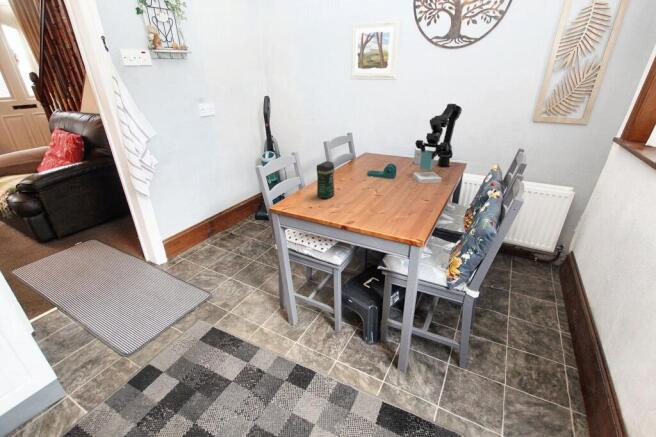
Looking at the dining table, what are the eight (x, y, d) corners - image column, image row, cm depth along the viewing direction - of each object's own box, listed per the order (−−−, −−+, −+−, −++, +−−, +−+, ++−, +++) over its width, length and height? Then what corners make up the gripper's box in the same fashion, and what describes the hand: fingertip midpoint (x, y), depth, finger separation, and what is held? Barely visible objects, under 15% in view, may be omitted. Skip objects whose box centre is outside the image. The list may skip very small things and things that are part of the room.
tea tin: (423, 166, 186) (425, 150, 181) (433, 167, 183) (435, 151, 178) (419, 168, 182) (421, 152, 177) (429, 170, 178) (431, 153, 174)
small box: (424, 162, 218) (426, 148, 214) (426, 164, 213) (428, 149, 209) (413, 162, 219) (414, 148, 215) (414, 164, 214) (416, 149, 210)
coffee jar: (327, 200, 158) (326, 165, 150) (315, 197, 161) (313, 163, 153) (336, 194, 165) (336, 161, 157) (324, 192, 169) (323, 159, 161)
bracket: (396, 175, 192) (396, 163, 189) (393, 179, 187) (394, 166, 183) (368, 173, 199) (369, 161, 196) (365, 176, 193) (366, 164, 190)
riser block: (433, 176, 191) (433, 171, 189) (441, 183, 179) (441, 178, 178) (412, 177, 190) (413, 172, 189) (419, 184, 179) (419, 179, 177)
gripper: (418, 126, 180) (408, 148, 177) (450, 128, 170) (440, 152, 167) (421, 137, 189) (412, 158, 186) (452, 140, 179) (443, 162, 176)
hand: (426, 157), depth 178 cm, fingers closed on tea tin, 6 cm apart
